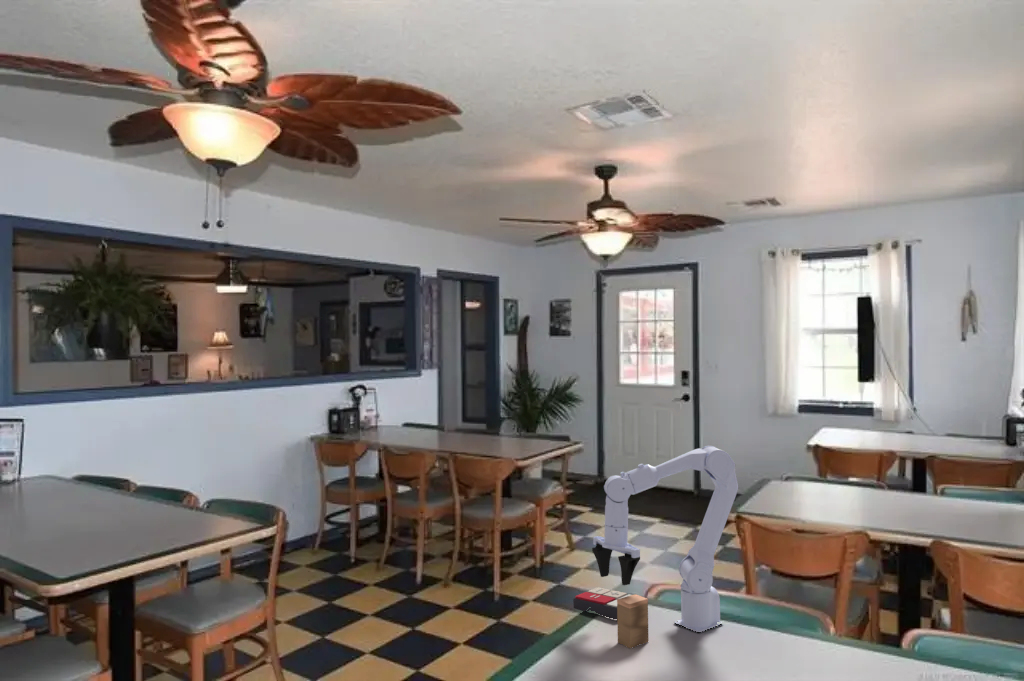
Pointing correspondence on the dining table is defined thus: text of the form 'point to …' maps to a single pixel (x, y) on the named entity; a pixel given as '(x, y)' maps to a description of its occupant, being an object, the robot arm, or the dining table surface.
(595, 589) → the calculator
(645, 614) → the walnut block
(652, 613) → the dining table surface
